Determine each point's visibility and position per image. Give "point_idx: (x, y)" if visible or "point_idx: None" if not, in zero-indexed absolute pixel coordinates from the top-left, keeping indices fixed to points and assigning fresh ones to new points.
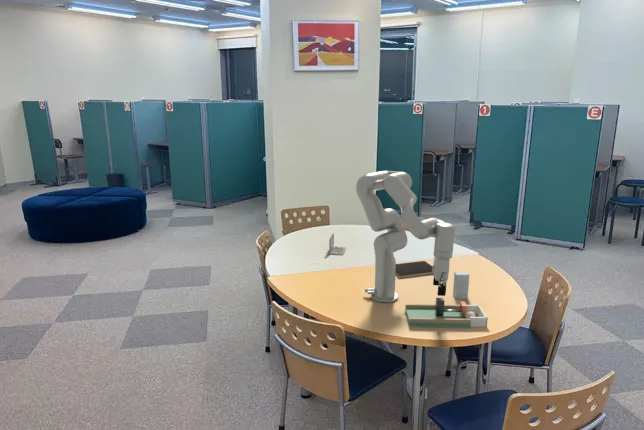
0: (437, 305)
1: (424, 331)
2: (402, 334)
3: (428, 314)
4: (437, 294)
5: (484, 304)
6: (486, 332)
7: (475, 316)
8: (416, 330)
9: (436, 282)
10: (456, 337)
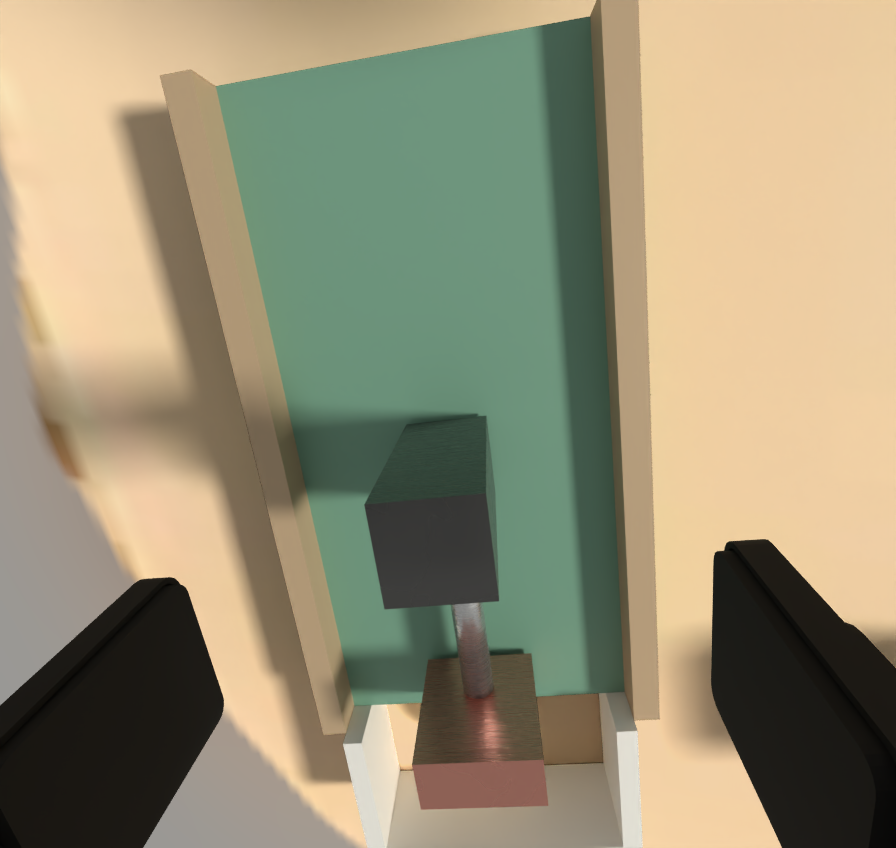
0: (381, 477)
1: (162, 279)
2: (18, 25)
3: (440, 336)
4: (150, 581)
5: None
6: (296, 763)
7: None
8: (156, 193)
9: (748, 671)
10: (147, 551)
